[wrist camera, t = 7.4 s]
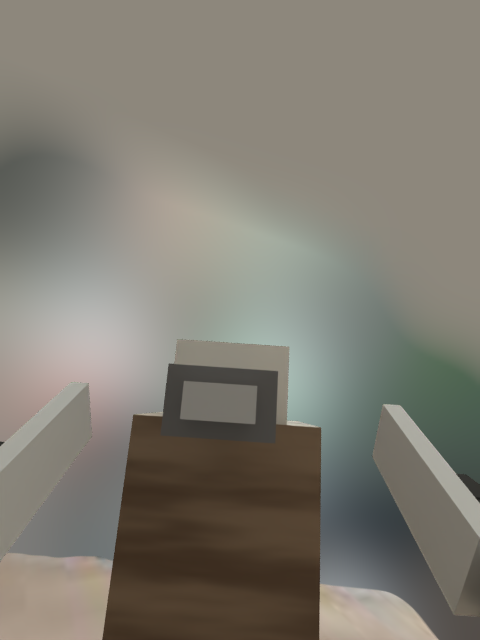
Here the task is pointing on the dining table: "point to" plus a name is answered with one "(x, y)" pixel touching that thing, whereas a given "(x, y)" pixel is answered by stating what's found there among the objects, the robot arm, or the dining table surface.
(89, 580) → the dining table surface
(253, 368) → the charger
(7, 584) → the dining table surface
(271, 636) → the stand
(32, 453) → the robot arm
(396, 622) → the dining table surface
